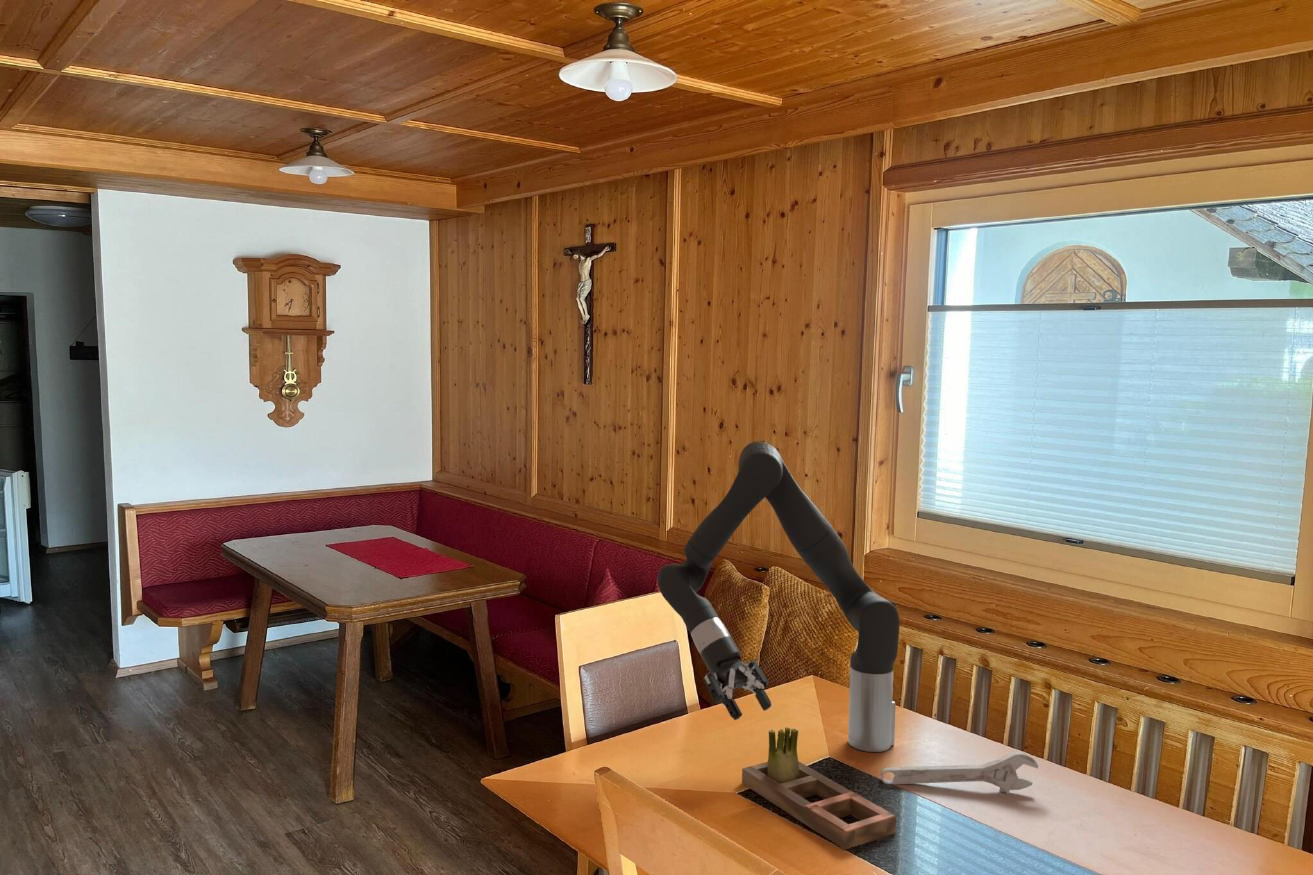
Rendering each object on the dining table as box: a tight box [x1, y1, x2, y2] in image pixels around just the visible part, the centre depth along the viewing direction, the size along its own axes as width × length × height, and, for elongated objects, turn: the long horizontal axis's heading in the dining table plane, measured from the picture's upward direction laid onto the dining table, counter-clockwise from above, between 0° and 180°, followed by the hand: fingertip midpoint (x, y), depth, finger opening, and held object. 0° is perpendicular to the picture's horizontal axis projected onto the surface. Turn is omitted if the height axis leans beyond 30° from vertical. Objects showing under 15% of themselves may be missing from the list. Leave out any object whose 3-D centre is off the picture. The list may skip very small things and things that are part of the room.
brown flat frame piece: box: [741, 760, 897, 850], centre depth 179 cm, size 12×30×3 cm, turn 31°
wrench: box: [880, 750, 1039, 795], centre depth 187 cm, size 8×2×30 cm
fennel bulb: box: [767, 726, 799, 784], centre depth 186 cm, size 6×5×12 cm
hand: (753, 713), depth 192 cm, fingers open, 8 cm apart
